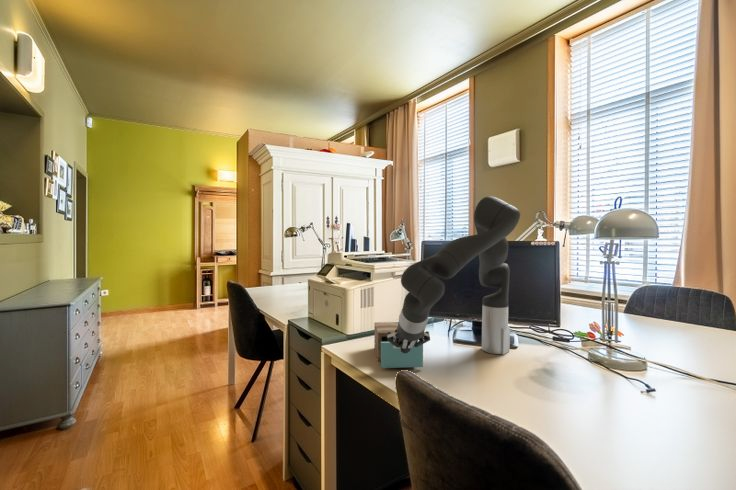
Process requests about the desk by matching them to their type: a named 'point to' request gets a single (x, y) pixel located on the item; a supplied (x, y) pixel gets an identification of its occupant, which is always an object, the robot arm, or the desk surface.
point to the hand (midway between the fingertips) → (404, 350)
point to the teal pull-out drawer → (400, 356)
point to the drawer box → (382, 335)
